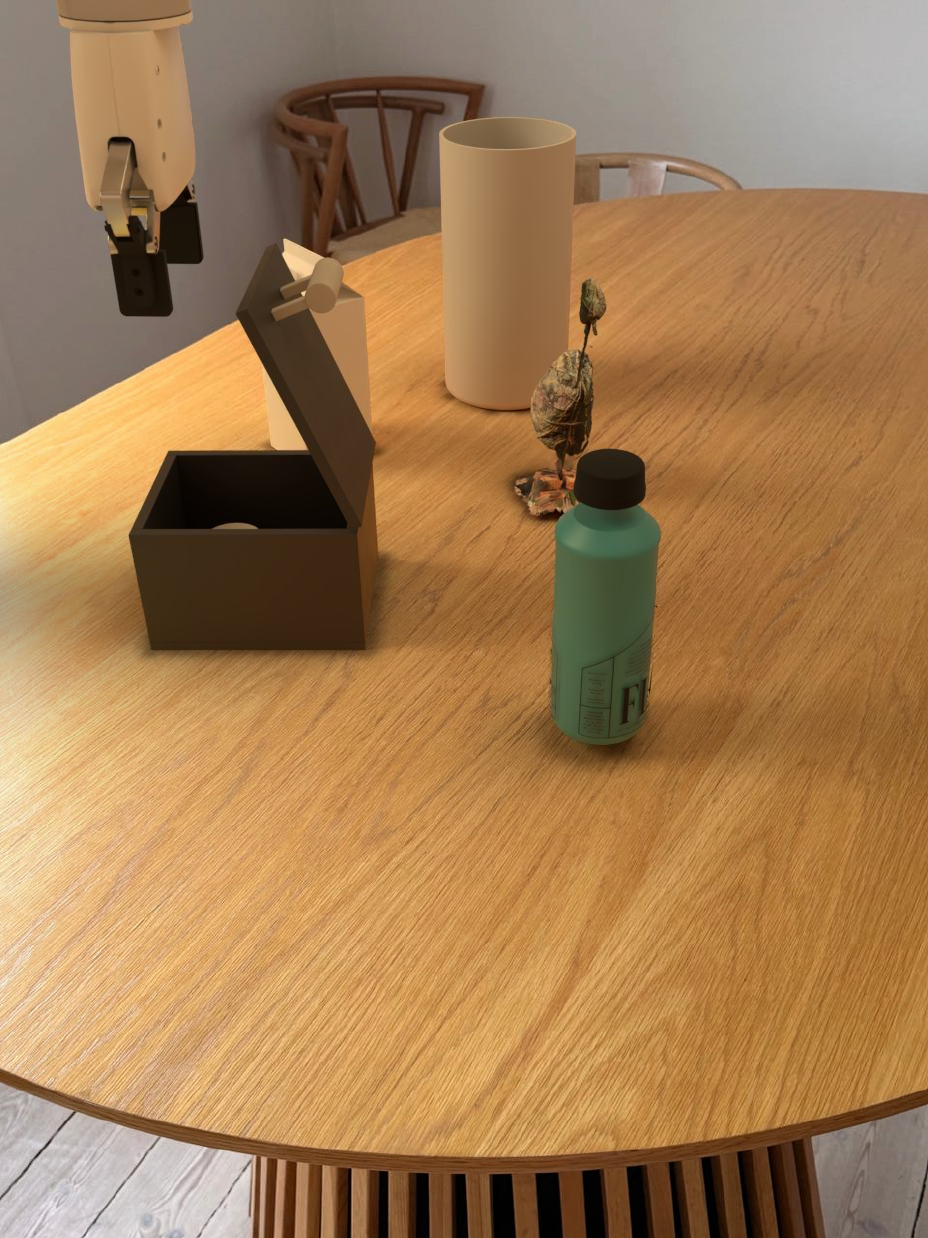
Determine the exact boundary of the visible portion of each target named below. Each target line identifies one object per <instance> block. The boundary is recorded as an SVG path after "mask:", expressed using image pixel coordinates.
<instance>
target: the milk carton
mask: <svg viewBox="0 0 928 1238" xmlns="http://www.w3.org/2000/svg"><path fill="white" fill-rule="evenodd" d="M283 249H284V251H283V252H281V253H282V255H283V257H284V259H285V261H286V263H287V265H288V267H289V269H290V271H291V273H292V275H293V277H294V279H295V281H297V280H299V279H302V278H304V277H307V276H309V275H311V274H312V272H313V269H314V267H315V264H316V263H317V262H318V261H319V260H320V259H323V258H325V257H324V256H322V255H320V254H318V253H316V252H313V251H311V250H309V249H307V248H306V247H303V246H301V245H299V244H298V243H296V242H293V241H291V240H289V239H287V238H283ZM305 292H306V291H304V292H301V293H302V295H303V296H304V295H305ZM365 303H366V302H365V296H364V295H362V294H361V293H360V292H358V291H356V290H355V289H353V288H352V287H350V286H349V285H348V284H346V283H345V282H344V281H342V283H341V287H340V290H339V294H338V297H337V300H336V304H335V306H334V308H333V309H332V310H331V311H329V312H327V313H316V312H314V311H312V310H311V309H310V308H309V309H310V311H311V313H312V315H313V317H314V319H315V321H316V323H317V325H318V327H319V329H320V331H321V333H322V335H323V337H324V339H325V341H326V343H327V345H328V347H329V349H330V351H331V353H332V355H333V357H334V359H335V361H336V363H337V365H338V367H339V369H340V371H341V373H342V375H343V377H344V379H345V381H346V383H347V385H348V387H349V389H350V391H351V393H352V395H353V397H354V399H355V401H356V403H357V405H358V407H359V409H360V411H361V413H362V415H363V417H364V419H365V421H366V423H367V425H368V427H369V429H370V431H371V433H372V434H373V421H372V419H373V418H372V404H371V403H372V402H371V387H370V370H369V353H368V337H367V322H366V321H367V319H366V306H365V305H366V304H365ZM260 362H261V361H260ZM261 370H262V380H263V388H264V396H265V397H264V398H265V406H266V407H265V408H266V414H267V415H266V416H267V424H268V433H269V441H270V446H271V447H272V448H273V449H274V450H308V448H307V446H306V444H305V442H304V441H303V439H302V437H301V435H300V433H299V431H298V429H297V428H296V426H295V424H294V422H293V420H292V418H291V416H290V415H289V413H288V411H287V409H286V407H285V405H284V403H283V402H282V400H281V398H280V396H279V394H278V392H277V390H276V388H275V387H274V385H273V383H272V381H271V379H270V377H269V375H268V374H267V372H266V370H265V368H264V366H263V364H262V362H261Z"/></svg>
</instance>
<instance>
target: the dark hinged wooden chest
mask: <svg viewBox="0 0 928 1238" xmlns="http://www.w3.org/2000/svg"><path fill="white" fill-rule="evenodd" d="M373 462H374V461H373ZM373 462H372V468H371V474H370V480H369V486H368V492H367V498H366V504H365V510H364V516H363V522H362V526H361V527H359V528H356V529H353V530H351V528H350V526H349V524H348V523H347V521H346V519H345V517H344V515H343V513H342V511H341V510H340V508H339V506H338V504H337V502H336V500H335V498H334V496H333V495H332V493H331V491H330V489H329V487H328V485H327V483H326V482H325V480H324V478H323V476H322V474H321V472H320V470H319V469H318V467H317V465H316V463H315V461H314V459H313V457H312V456H311V454H310V452H309V450H276V449H243V450H242V449H236V450H235V449H233V450H232V449H231V450H230V449H223V450H219V449H214V450H211V449H208V450H207V449H206V450H204V449H203V450H201V449H199V450H197V449H196V450H192V449H191V450H185V449H184V450H167V452H166V455H165V457H164V459H163V461H162V463H161V465H160V468H159V470H158V471H157V473H156V476H155V478H154V479H153V482H152V485H151V487H150V489H149V490H148V493H147V495H146V497H145V499H144V501H143V503H142V505H141V508H140V510H139V512H138V514H137V516H136V518H135V520H134V522H133V524H132V526H131V529H130V530H129V533H128V540H129V546H130V551H131V555H132V561H133V565H134V570H135V576H136V581H137V586H138V591H139V595H140V596H139V597H140V602H141V606H142V611H143V616H144V621H145V626H146V627H145V628H146V632H147V636H148V641H149V645H150V646H149V647H150V650H151V651H366V649H367V643H368V636H369V628H370V621H371V615H372V607H373V601H374V593H375V586H376V578H377V572H378V564H379V544H378V542H379V541H378V527H377V512H376V511H377V510H376V497H375V481H374V463H373ZM229 523H245V524H250V525H253V526H255V527H257V528H258V529H213V528H215V527H217V526H220V525H224V524H229Z"/></svg>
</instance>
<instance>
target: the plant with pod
mask: <svg viewBox="0 0 928 1238" xmlns="http://www.w3.org/2000/svg"><path fill="white" fill-rule="evenodd" d="M580 290H581V291H580V292H581V294H580V298H579V299H580V303H579V304H580V306H579V312H578V315H579V317H578V318H579V322H580V323H581V324H582V325H584V329H583V335H584V336H583V337H584V338H583V346H582V349H581V350H580V349H570V350H568V351H566V352H564V353H563V354H562V355H560V356H559V358H558V359H557V360H556V361H554V362H553V364H552V365H551V366H550V368H549V369H548V371H547V372H546V373H545V376H544V377H543V378H542V379H541V380H540V381H539V382H538V385H537V387H536V389H535V390H534V393H533V396H532V398H531V408H530V419H531V421H532V425H533V428H534V431H535V433H536V435H537V436H536V438H537V439H538V440H539V441H540V442H541V443H542V444H543V446H545V447H546V448H548V449H549V450H552V451H554V452H555V459H554V460H555V461H554V467H555V469H550V468H548V467H544V468H543V467H542V468H540V469H538V470H536V471H535V472H534V473H529V474H524V475H519V476H518V475H516V476H515V477H516V478H515V480H514V482H515V483H514V484H515V486H513V488H514V492H515V495H518V496H519V497H522V499H521V501H522V502H524V503H527V507H529V508H528V510H529V511H530V512H529V514H530V515H533V516H538V517H540V516H541V514H542V515H546V514H548V513H555V510H556V511H558V513H560V514H561V512H563V514H564V513H566V512H567V511H568V510H569V509H571V508H572V507H574V506H575V505H577V504H579V503H580V501H578V500H577V499H576V497H575V496H574V492H573V489H574V481H575V477H576V469H574V467H575V465H576V464H577V463H578V461H579V459H580V458H581V457H582V456H583V453H584V452H585V450H586V448H587V446H588V445H589V438H590V436H591V433H592V427H593V420H592V419H593V416H592V412H593V408H594V401H595V399H594V398H595V396H594V388H593V386H594V382H593V374H594V366H593V362H592V361H591V360H590V358H589V354H588V353H587V352H585V351H586V348H587V347H588V348H593V347H594V346H593V345H588V340H589V336H590V332H591V331H592V333H593V335H594V336H595V337H597V336H598V334H599V333H598V329H597V325H598V324H597V322H598V321H600V320H601V319H602V318H603V316H605V313H606V311H607V306H608V305H607V299H606V296H605V293H604V292H603V290H602V288H601V286H600V285H599V283H598V282H597V281H596V279H595V278H594V277H590V278H589V279H585V280H584V281H583V282H582V283H581V289H580ZM591 328H592V330H591ZM587 345H588V346H587Z"/></svg>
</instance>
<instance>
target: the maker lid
mask: <svg viewBox="0 0 928 1238" xmlns="http://www.w3.org/2000/svg"><path fill="white" fill-rule="evenodd" d="M282 253H283V252H281V249H280V248H279V245H278V244H277V243H276V242H275V243H273V244H271V245H268V246H266V247H265V250H264V251H263V254H262V256H261V258H260V260H259V262H258V264H257V266H256V269H255V270H254V273H253V275H252V277H251V280H250V281H249V284H248V286H247V287H246V290H245V292H244V294H243V296H242V298H241V301H240V303H239V305H238V307H237V309H236V310H235V312H234V313H235V316H236V318H237V320H238V321H239V323H240V325H241V327H242V329H243V331H244V333H245V334H246V337H247V338H248V341H249V342H250V344H251V346H252V348H253V349H254V352H255V354H256V355H257V357H258V359H259V360H260V362H262V363H261V365H262V364H263V366H264V368H265V370H266V372H267V374H268V375H269V377H270V379H271V381H272V383H273V385H274V387H275V388H276V390H277V392H278V394H279V396H280V398H281V400H282V402H283V403H284V405H285V407H286V409H287V411H288V413H289V415H290V416H291V418H292V420H293V422H294V424H295V426H296V428H297V429H298V431H299V433H300V435H301V437H302V439H303V441H304V442H305V444H306V446H307V448H308V450H309V452H310V454H311V456H312V457H313V459H314V461H315V463H316V465H317V467H318V469H319V470H320V472H321V474H322V476H323V478H324V480H325V482H326V483H327V485H328V487H329V489H330V491H331V493H332V495H333V496H334V498H335V500H336V502H337V504H338V506H339V508H340V510H341V511H342V513H343V515H344V517H345V519H346V521H347V523H348V524H349V526H350V528H351V530H353V529H356V528H359V527H361V526H362V522H363V516H364V510H365V504H366V498H367V492H368V486H369V480H370V474H371V468H372V462H374V456H375V450H376V443H377V441H376V440H375V439H376V438H374V436H373V432H372V433H371V431H370V429H369V427H368V425H367V423H366V421H365V419H364V417H363V415H362V413H361V411H360V409H359V407H358V405H357V403H356V401H355V399H354V397H353V395H352V393H351V391H350V389H349V387H348V385H347V383H346V381H345V379H344V377H343V375H342V373H341V371H340V369H339V367H338V365H337V363H336V361H335V359H334V357H333V355H332V353H331V351H330V349H329V347H328V345H327V343H326V341H325V339H324V337H323V335H322V333H321V331H320V329H319V327H318V325H317V323H316V321H315V319H314V317H313V315H312V313H311V311H310V309H311V310H312V311H314V312H316V313H327V312H329V311H331V310H332V309H333V308H334V306H335V304H336V300H337V297H338V294H339V290H340V287H341V283H342V282H343V280H344V274H345V272H344V271H345V270H344V268H343V266H342V263H340V262H339V261H338V260H337V259H335V258H332V257H324V258H323V259H320V260H319V261H318V262H317V263H316V264H315V267H314V269H313V272H312V274H311V275H309V276H307V277H304V278H302V279H299V280H297V281H295V279H294V277H293V275H292V273H291V271H290V269H289V267H288V265H287V263H286V261H285V259H284V257H283V255H282ZM304 291H306V292H305V295H304V296H303V295H302V293H301V292H304ZM309 308H310V309H309Z"/></svg>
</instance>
